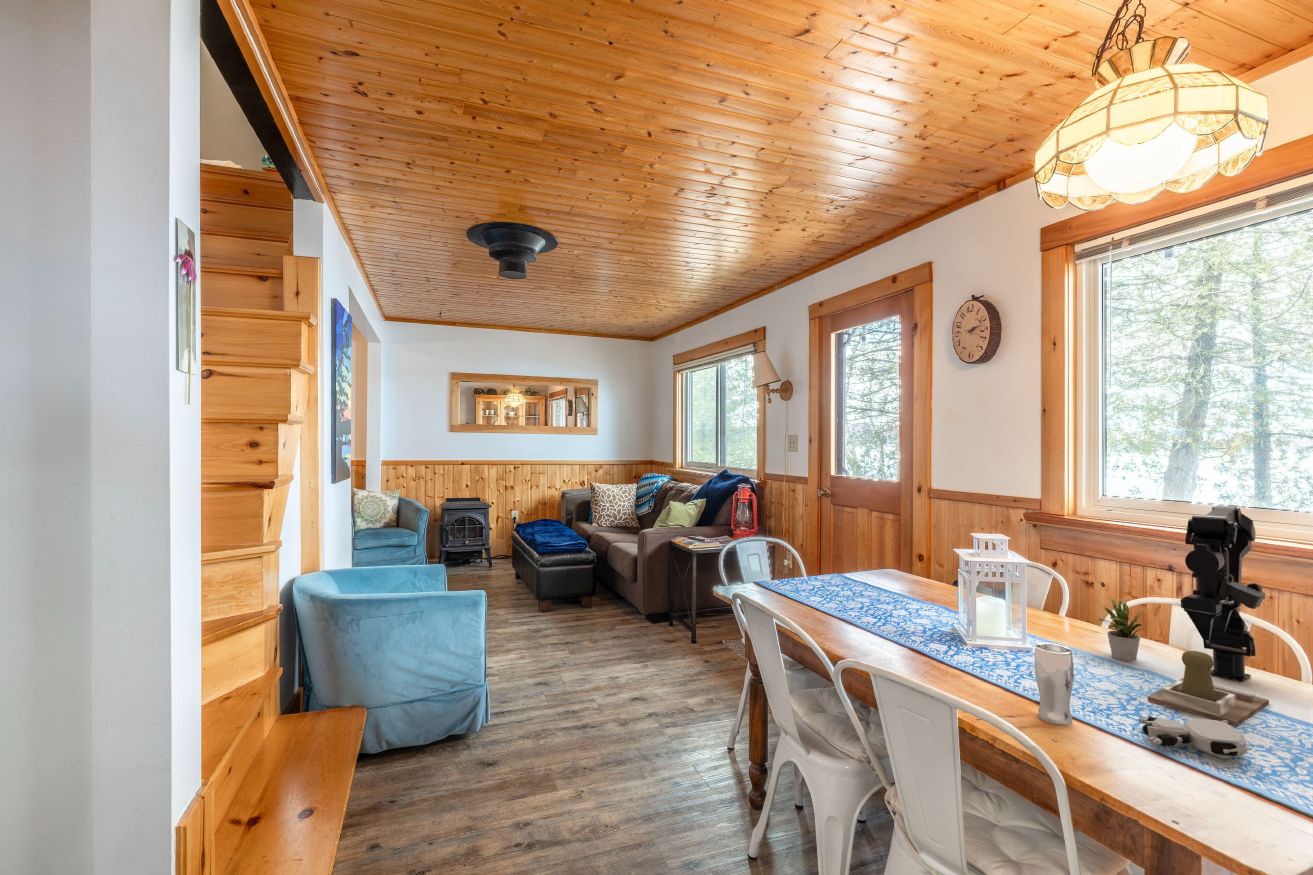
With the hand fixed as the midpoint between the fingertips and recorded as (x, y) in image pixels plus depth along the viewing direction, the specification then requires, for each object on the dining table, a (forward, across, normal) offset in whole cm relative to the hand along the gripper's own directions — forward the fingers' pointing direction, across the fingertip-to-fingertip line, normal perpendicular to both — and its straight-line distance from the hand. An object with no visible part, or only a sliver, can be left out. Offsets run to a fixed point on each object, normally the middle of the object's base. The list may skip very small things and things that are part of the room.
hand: (1213, 636), depth 140 cm
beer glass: (+13, -45, +13) cm, 49 cm away
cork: (+12, -13, -1) cm, 18 cm away
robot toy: (+14, -36, -7) cm, 39 cm away
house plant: (+13, +10, +23) cm, 28 cm away
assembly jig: (+13, -8, -1) cm, 15 cm away
